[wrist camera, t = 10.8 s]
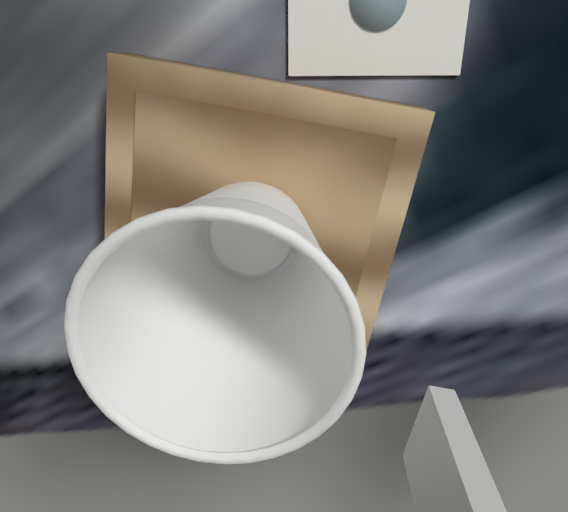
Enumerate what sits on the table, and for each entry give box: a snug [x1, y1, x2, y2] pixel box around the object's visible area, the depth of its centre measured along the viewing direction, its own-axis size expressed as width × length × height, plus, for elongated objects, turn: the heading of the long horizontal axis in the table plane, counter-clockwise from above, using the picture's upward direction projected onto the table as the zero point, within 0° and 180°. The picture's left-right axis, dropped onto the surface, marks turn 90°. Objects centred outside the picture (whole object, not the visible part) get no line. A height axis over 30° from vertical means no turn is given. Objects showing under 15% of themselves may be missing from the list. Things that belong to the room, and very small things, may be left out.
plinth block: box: [105, 52, 435, 350], centre depth 27 cm, size 16×16×3 cm
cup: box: [64, 181, 366, 464], centre depth 20 cm, size 10×10×11 cm
